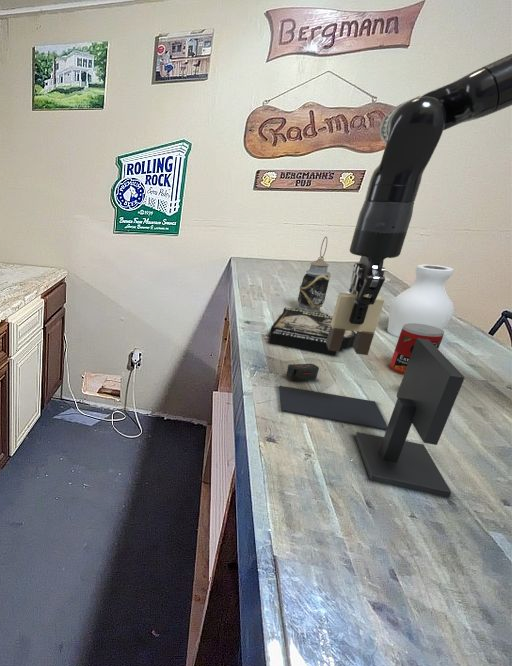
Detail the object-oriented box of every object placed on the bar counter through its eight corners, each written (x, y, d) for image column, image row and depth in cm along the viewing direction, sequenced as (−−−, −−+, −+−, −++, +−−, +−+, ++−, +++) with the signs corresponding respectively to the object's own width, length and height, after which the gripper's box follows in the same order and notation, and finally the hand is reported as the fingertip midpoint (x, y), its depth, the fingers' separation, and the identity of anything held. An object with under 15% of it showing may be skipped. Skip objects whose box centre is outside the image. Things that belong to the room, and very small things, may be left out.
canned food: (389, 372, 111) (403, 330, 106) (388, 361, 117) (402, 321, 112) (429, 380, 107) (446, 336, 102) (426, 369, 113) (442, 326, 108)
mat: (374, 403, 97) (374, 401, 96) (387, 431, 87) (388, 428, 86) (279, 387, 103) (279, 385, 103) (281, 411, 93) (282, 409, 93)
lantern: (323, 315, 152) (343, 239, 142) (296, 313, 154) (314, 237, 145) (318, 308, 159) (337, 235, 149) (292, 306, 162) (309, 234, 152)
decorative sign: (264, 331, 128) (285, 307, 150) (262, 342, 129) (283, 316, 151) (352, 348, 117) (360, 318, 139) (349, 359, 118) (357, 328, 140)
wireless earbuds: (320, 380, 107) (323, 368, 105) (291, 382, 106) (294, 369, 105) (307, 372, 111) (310, 360, 110) (279, 373, 110) (282, 361, 109)
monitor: (419, 447, 82) (461, 343, 74) (451, 502, 68) (505, 382, 60) (354, 434, 86) (386, 334, 78) (371, 484, 72) (412, 369, 64)
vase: (374, 324, 143) (394, 260, 135) (428, 328, 140) (452, 263, 132) (394, 340, 131) (417, 271, 123) (453, 345, 127) (481, 274, 119)
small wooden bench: (364, 347, 90) (380, 295, 86) (368, 355, 87) (385, 301, 82) (324, 342, 93) (338, 291, 89) (327, 350, 89) (341, 297, 85)
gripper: (418, 234, 73) (386, 335, 80) (396, 224, 85) (370, 313, 92) (363, 231, 76) (336, 329, 83) (349, 222, 88) (326, 308, 95)
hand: (354, 320), depth 87 cm, fingers closed on small wooden bench, 3 cm apart
